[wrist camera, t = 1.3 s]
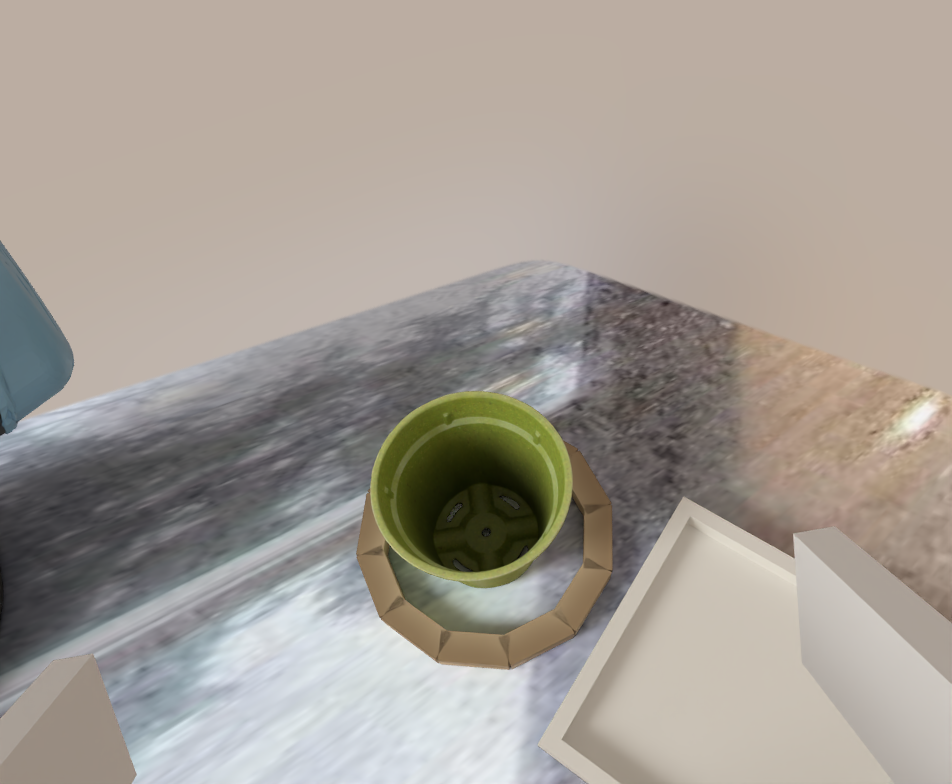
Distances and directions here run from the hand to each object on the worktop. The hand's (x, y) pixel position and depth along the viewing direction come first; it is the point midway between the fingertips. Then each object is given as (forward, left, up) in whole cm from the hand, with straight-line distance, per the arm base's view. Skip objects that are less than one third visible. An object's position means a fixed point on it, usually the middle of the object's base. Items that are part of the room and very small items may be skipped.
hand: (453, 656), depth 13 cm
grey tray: (+8, +8, -25) cm, 27 cm away
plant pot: (-7, +8, -25) cm, 27 cm away
